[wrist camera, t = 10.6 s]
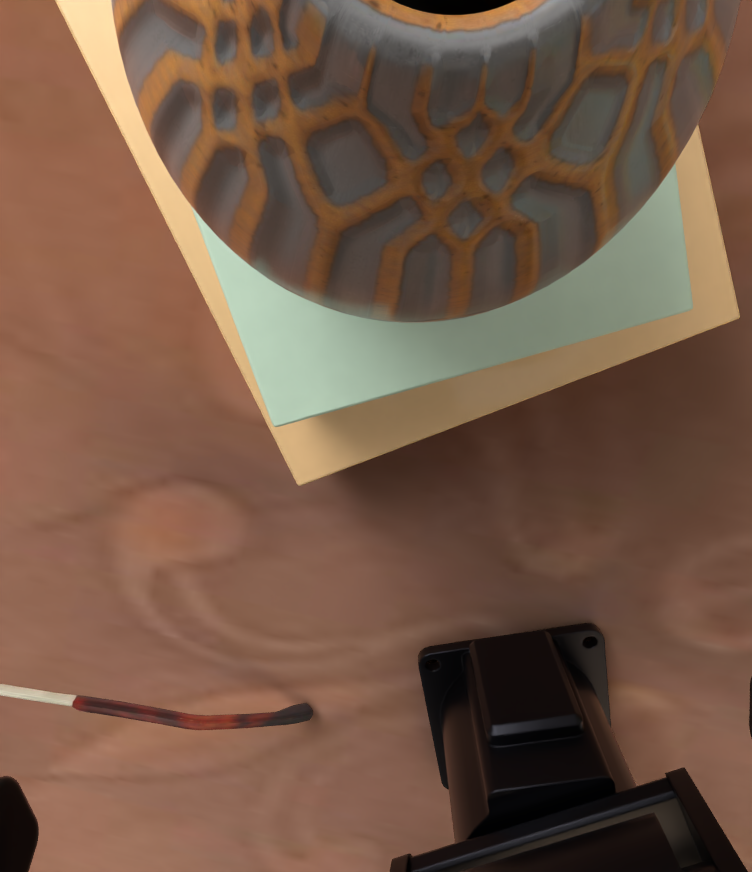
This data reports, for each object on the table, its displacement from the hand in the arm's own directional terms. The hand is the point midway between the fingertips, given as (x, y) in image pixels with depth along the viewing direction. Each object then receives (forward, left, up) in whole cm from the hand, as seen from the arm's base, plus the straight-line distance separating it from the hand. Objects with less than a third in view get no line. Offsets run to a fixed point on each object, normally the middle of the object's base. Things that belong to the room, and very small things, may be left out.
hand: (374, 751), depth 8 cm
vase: (+8, -2, -7) cm, 11 cm away
